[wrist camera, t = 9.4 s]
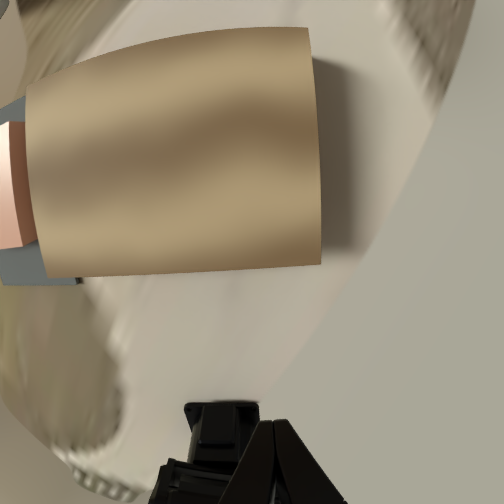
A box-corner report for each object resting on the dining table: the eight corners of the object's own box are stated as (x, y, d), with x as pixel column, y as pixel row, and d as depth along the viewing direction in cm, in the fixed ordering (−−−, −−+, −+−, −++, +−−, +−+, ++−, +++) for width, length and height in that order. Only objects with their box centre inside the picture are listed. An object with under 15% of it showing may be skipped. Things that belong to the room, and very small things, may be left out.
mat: (79, 282, 19) (76, 284, 19) (5, 283, 19) (3, 285, 19) (56, 83, 14) (53, 82, 14) (-18, 121, 15) (-21, 121, 14)
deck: (306, 241, 18) (320, 264, 14) (78, 256, 18) (47, 278, 15) (296, 53, 15) (307, 27, 11) (60, 93, 15) (26, 86, 11)
